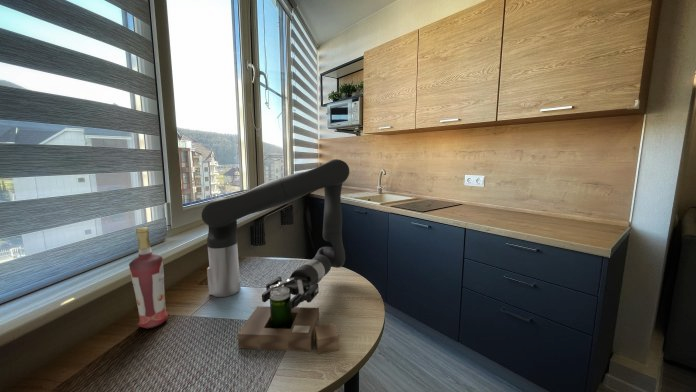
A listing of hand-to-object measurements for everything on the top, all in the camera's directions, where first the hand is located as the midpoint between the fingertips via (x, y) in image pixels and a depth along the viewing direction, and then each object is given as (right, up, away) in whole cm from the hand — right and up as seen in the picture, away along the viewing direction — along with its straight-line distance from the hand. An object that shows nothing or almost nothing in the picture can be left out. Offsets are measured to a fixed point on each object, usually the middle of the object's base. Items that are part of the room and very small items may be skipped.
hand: (276, 302), depth 66 cm
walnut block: (+13, -10, -1) cm, 17 cm away
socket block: (+1, -10, +3) cm, 10 cm away
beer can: (+1, -10, +3) cm, 10 cm away
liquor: (-37, -10, +8) cm, 39 cm away
